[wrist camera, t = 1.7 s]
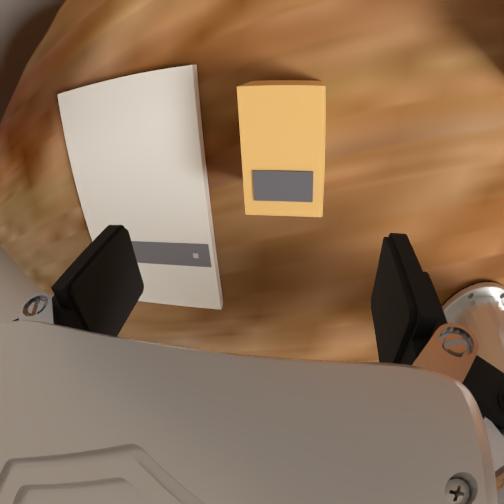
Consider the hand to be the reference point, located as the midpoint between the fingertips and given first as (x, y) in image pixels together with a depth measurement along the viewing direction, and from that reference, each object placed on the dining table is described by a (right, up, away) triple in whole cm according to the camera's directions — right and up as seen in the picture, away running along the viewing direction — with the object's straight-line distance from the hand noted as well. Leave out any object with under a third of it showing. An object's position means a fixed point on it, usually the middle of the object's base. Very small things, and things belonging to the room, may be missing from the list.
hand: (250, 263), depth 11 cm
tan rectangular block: (+3, +11, +17) cm, 20 cm away
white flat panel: (-12, +6, +23) cm, 27 cm away
